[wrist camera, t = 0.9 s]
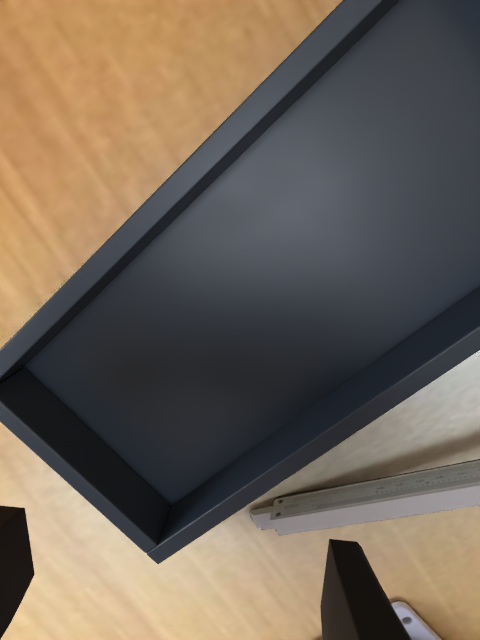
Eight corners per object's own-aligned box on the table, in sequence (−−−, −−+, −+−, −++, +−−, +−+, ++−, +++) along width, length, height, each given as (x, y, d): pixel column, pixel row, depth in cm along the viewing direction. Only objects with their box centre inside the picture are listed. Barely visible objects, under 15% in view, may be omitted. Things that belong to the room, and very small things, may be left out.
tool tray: (636, 191, 15) (722, 189, 12) (173, 515, 21) (157, 565, 18) (457, -89, 13) (508, -169, 10) (8, 359, 19) (-39, 388, 16)
